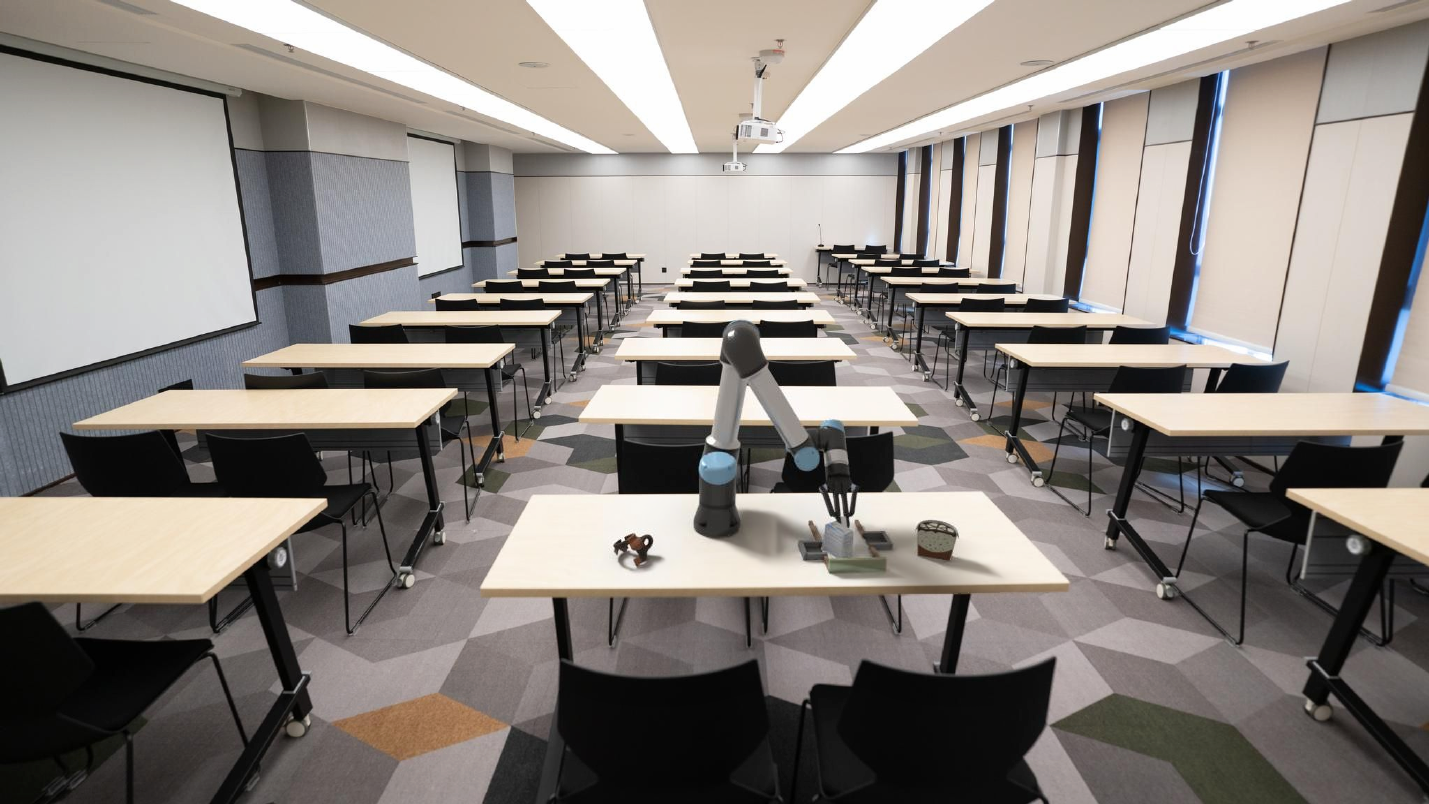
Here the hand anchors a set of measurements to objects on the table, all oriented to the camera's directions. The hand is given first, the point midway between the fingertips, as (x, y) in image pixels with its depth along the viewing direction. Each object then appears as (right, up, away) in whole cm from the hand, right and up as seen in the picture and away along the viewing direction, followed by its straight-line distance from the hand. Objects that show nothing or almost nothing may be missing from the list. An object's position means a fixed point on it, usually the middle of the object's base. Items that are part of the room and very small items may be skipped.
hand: (844, 538), depth 207 cm
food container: (+26, -4, -3) cm, 27 cm away
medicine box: (-3, -4, -3) cm, 6 cm away
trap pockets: (0, -3, 0) cm, 3 cm away
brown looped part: (-63, -4, -7) cm, 64 cm away
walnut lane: (0, -2, +1) cm, 3 cm away
